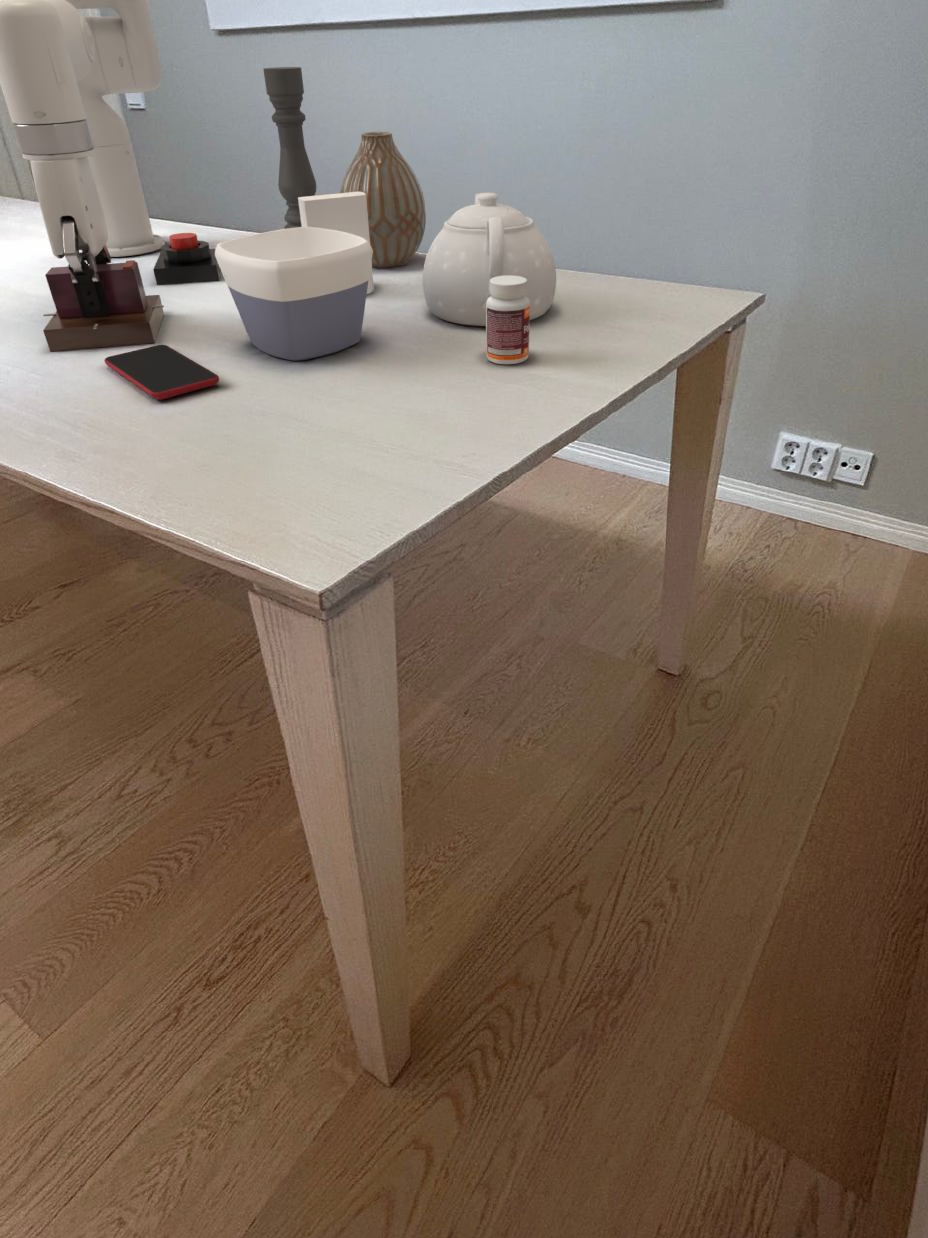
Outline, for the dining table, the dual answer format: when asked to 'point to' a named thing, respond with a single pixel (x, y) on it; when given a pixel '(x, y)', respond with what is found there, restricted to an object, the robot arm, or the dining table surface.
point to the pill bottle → (507, 320)
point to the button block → (186, 265)
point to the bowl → (298, 289)
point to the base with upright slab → (338, 216)
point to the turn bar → (118, 285)
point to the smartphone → (162, 371)
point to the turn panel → (105, 329)
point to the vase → (388, 199)
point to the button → (183, 240)
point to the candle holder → (290, 138)
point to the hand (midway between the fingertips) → (103, 306)
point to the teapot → (486, 261)
